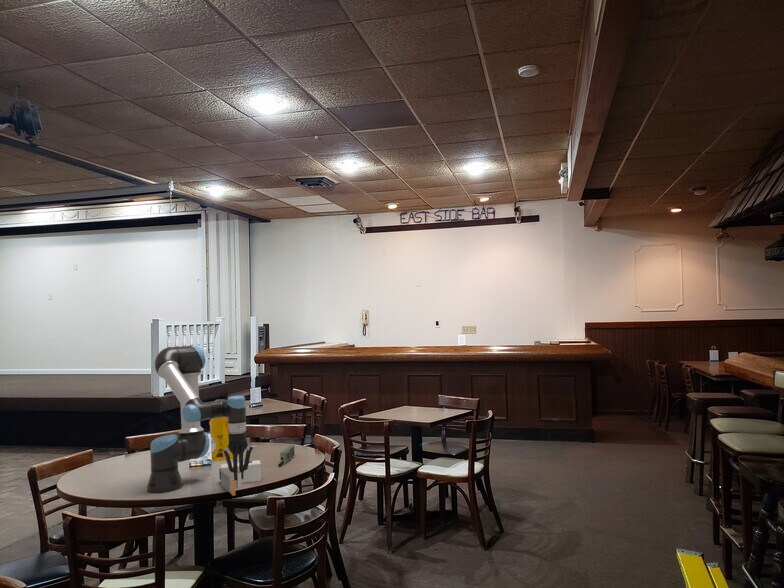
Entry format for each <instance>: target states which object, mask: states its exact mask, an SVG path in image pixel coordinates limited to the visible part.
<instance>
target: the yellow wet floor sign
mask: <svg viewBox="0 0 784 588" xmlns="http://www.w3.org/2000/svg"><path fill="white" fill-rule="evenodd" d="M208 425H209V428H210V429H209V431H210V432H209V434H210V436H211V438H212V440H213V441H214V443H215V446H214V447H215V448H214V450H213V451H211V453H212V460H213V462H220V461H221V462H224V460H225V461H226V457H225V455H224V453H223V450H225V449H227V448H228V444H229V436H228V434H229V432H228V417H221V418H215V419H209V422H208ZM229 456H230V459H231V460H233V454H232V453H231V451H230V450H229ZM212 460H211V461H212Z"/></svg>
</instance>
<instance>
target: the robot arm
mask: <svg viewBox="0 0 784 588" xmlns="http://www.w3.org/2000/svg"><path fill="white" fill-rule="evenodd" d="M206 362H207V361H206V354H205V352H204V351H203V349H202V348H201V347H200V346H198V345H185V346H183V345H182V346H170V347H165V348H163V349H162V350H160V351H159V353H157V356H156V357H155V359H154V369H155V372H156V373H157V375H158V376H159V378H161V379H164V381H165V383H166V384H167V386H168V387H169V388H170V390H171V391H172V393H173V394H174V396H175V397H176V398H177V400H178V401H179V404H180V419H181V420H180V424H181V425H180V427H181V429H179V431H178V434H175V433H174V434H172V433H171V434H167V435H162V436H159V437H156V438H154V439H152V441H151V442H150V450H149V451H150V452H149V453H150V475H149V478H148V482H147V484H146V485H147V486H146V491H147V492H148V491H149V492H148V493H153V492H160V493H166V492H167V493H168V492H171V491H176V490H178V489H181V488H182V487H183V480H182V476H181V474H180V471H179V463H181V462H186V461H191V460H197V459H200V458H203V457H205V456H206V455H207V453H208V452H209V449H210V443H211V442H210V437H209V434H208V433H207V432H205V429H204V428H203V427H202V426H201V422H202V421H206V420H211V419H215V418H221V417H228V432H229V434H228V436H229V444H228V448H227V449H225V450H223V453H224V455H225V457H226V460H225V461H226V464H228V468H229V471H230V472H233V473H234V480H235V481H236V484H235V488H237V489H242V485H243V484H242V483H241V479H243V472H244V471H245V470H247V469H248V464H249V461H250V458H251V454H252V451H253V450H254V447H253V446H251V445H249V444H248V441H247V432H246V431H247V416H246V415H247V412H246V410H247V409H246V408H247V404H246V397H245V396H243V395H231V396H229V397H227V399H224V398H222V399H215V400H214V401H213V400H212V401H207V402H206V401H205V402H203V401H202V400H201V398H200V392H199V391H200V390H199V376H200V375H201V373H202V370H203V369H204V368H205V366H206ZM229 450H230V451H231V453H232V454H233V459H231V460H230V456H229ZM244 453H245V456H244ZM237 462H239V470H240V471H238V464H237ZM243 462H244V466H243ZM232 463H233V467H232ZM180 487H181V488H180Z"/></svg>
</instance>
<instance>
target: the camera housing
mask: <svg viewBox="0 0 784 588" xmlns="http://www.w3.org/2000/svg"><path fill="white" fill-rule="evenodd" d="M231 463H232V467H233V462H231ZM237 464H238V471H240V470H239V461H237ZM243 466H244V461H243ZM218 470H219V472H218V473H219V474H218V475H219V480H220V481H221V471H222V470H223V471H224V472H225V473H226V474H227V475H228V476H230V477H231V478H232V479H233V480H234V473H233V472H230V471H229V468H228V464H227V463H221V464H220V468H219V469H218ZM234 481H235V480H234ZM261 481H262V463H261V460H260V459H258V460H249V464H248V469H247V470H245V471H244V472H243V479H241V484H246V483H255V482H261ZM235 485H236V481H235Z"/></svg>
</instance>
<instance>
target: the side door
mask: <svg viewBox="0 0 784 588" xmlns="http://www.w3.org/2000/svg"><path fill="white" fill-rule="evenodd" d="M220 484H221V486H223V487H224V488H225V489H226V490H227V491H228V492H229V494H231V496H233V497H234V496H236V484H235V481H234V480H233V479H232V478H231V477H230V476H228V475H227V474H226V473H225V472H224V471H223V470H222V471H221V480H220Z"/></svg>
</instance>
